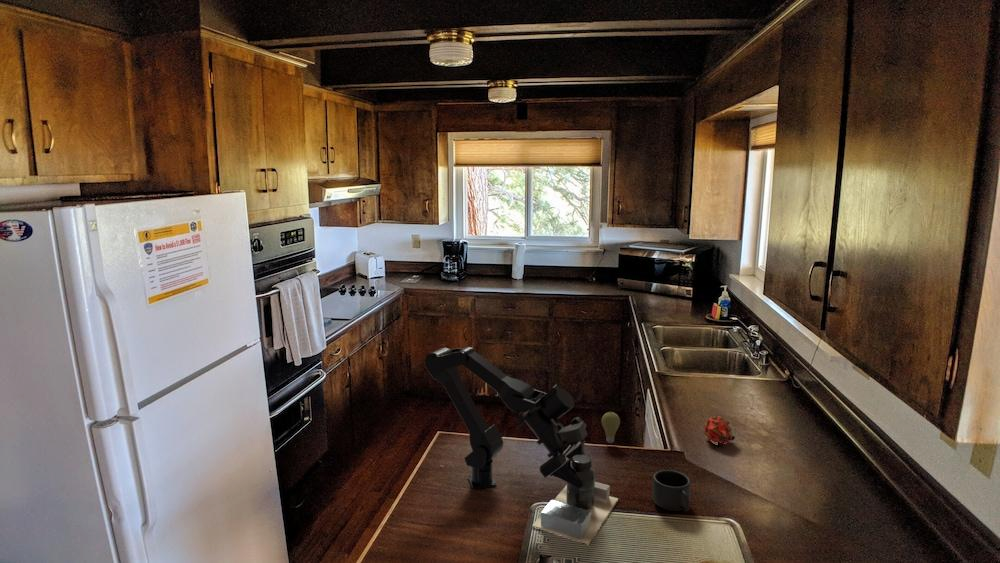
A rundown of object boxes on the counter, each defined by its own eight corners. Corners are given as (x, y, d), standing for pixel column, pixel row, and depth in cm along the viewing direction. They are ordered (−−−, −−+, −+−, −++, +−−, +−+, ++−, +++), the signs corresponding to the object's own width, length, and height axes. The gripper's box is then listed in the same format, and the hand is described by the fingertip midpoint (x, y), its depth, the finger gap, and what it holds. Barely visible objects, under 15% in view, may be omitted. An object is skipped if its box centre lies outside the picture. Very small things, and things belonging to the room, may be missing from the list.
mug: (645, 497, 146) (646, 472, 145) (676, 492, 149) (677, 467, 147) (671, 524, 135) (672, 496, 134) (704, 518, 137) (705, 491, 136)
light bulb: (597, 443, 177) (598, 412, 175) (607, 437, 181) (608, 407, 179) (613, 448, 173) (614, 417, 171) (622, 442, 177) (623, 412, 176)
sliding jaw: (551, 513, 138) (551, 499, 137) (590, 524, 133) (590, 511, 133) (540, 525, 133) (541, 512, 132) (581, 538, 128) (581, 524, 127)
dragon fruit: (713, 437, 184) (723, 460, 173) (692, 423, 183) (702, 445, 172) (731, 419, 182) (743, 441, 170) (710, 404, 181) (721, 425, 169)
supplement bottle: (563, 496, 144) (564, 452, 142) (589, 495, 145) (591, 451, 143) (569, 512, 137) (571, 466, 135) (597, 510, 138) (599, 464, 136)
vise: (567, 486, 152) (567, 472, 151) (618, 500, 145) (618, 485, 144) (532, 527, 134) (532, 511, 133) (588, 545, 127) (589, 529, 126)
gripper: (553, 426, 131) (597, 482, 128) (580, 399, 147) (620, 448, 144) (521, 450, 136) (563, 504, 133) (551, 421, 152) (589, 469, 149)
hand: (586, 480), depth 139 cm, fingers closed on supplement bottle, 7 cm apart
